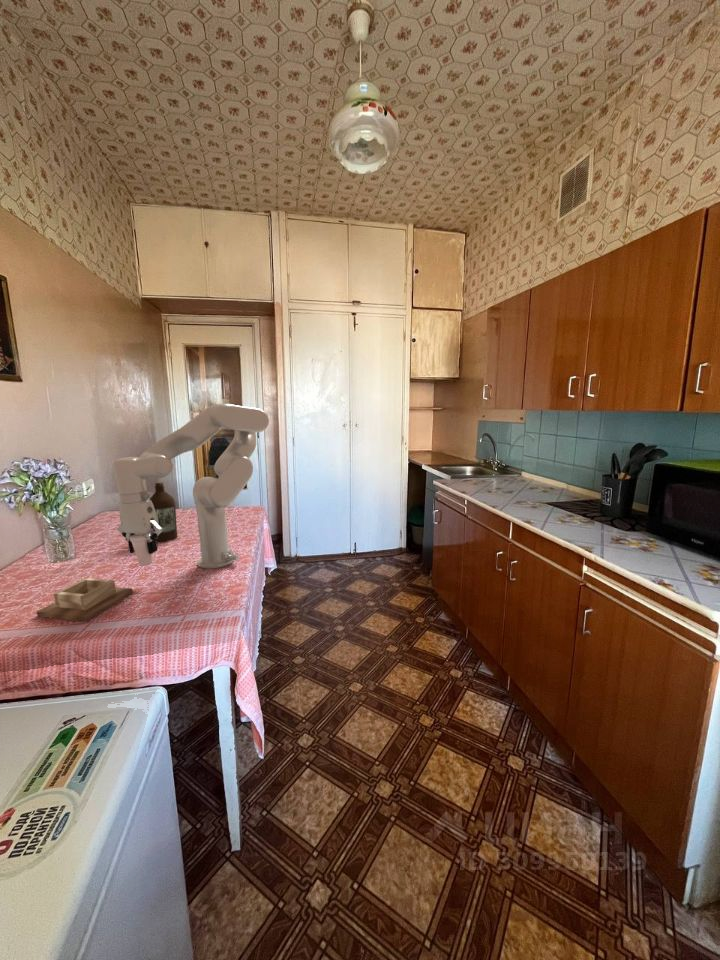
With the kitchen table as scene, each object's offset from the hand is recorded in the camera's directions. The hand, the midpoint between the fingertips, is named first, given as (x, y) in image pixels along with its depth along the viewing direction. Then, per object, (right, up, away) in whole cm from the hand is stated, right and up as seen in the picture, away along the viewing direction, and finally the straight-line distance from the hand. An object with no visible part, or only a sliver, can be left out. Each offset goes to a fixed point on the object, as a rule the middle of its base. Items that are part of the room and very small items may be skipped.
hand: (143, 551), depth 120 cm
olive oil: (-16, -3, +45) cm, 48 cm away
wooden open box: (-10, -13, -11) cm, 20 cm away
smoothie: (0, -4, +1) cm, 4 cm away
